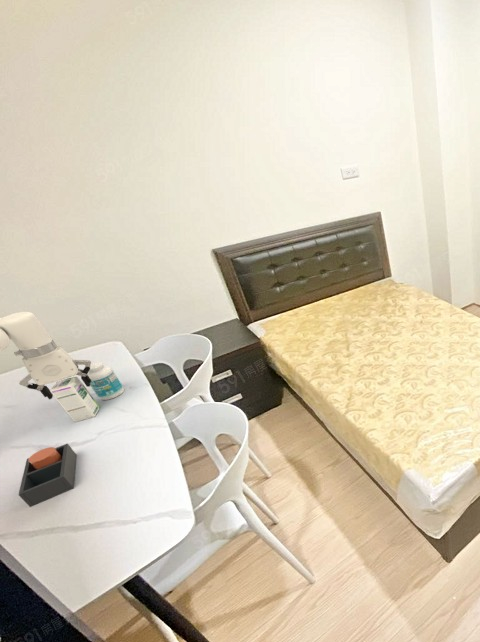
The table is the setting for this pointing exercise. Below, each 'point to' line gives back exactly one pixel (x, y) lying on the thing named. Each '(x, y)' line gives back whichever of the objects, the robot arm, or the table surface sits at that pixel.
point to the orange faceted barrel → (44, 457)
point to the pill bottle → (104, 381)
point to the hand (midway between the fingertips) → (70, 390)
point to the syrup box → (75, 399)
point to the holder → (49, 478)
